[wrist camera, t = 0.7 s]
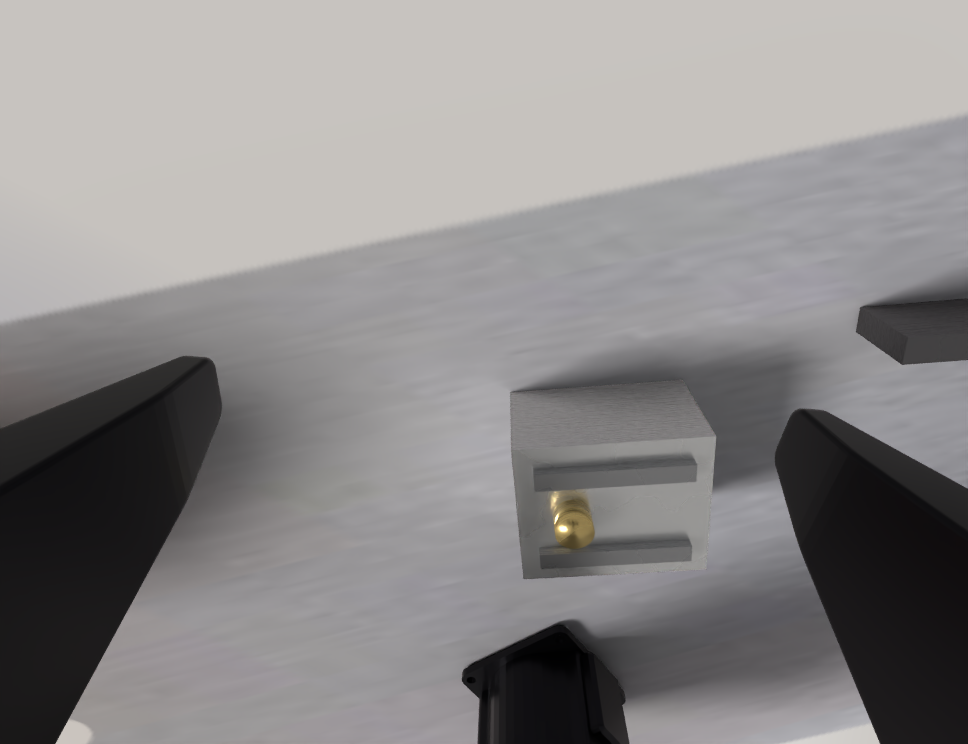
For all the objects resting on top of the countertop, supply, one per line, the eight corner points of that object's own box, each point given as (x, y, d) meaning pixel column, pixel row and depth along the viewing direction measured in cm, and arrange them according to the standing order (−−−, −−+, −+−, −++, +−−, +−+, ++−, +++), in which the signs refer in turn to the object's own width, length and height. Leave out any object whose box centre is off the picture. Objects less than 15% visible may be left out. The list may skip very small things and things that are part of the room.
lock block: (520, 506, 28) (524, 599, 23) (510, 390, 25) (511, 466, 20) (675, 496, 27) (714, 589, 22) (681, 377, 24) (726, 452, 20)
